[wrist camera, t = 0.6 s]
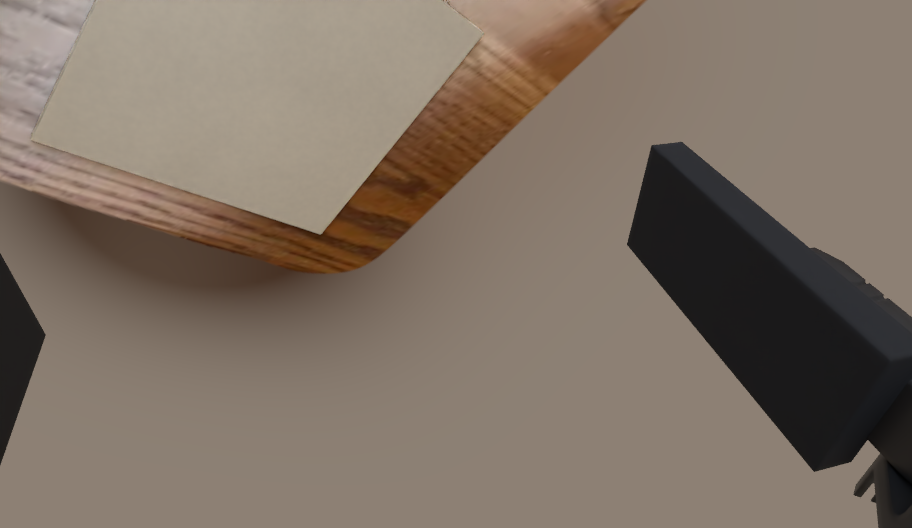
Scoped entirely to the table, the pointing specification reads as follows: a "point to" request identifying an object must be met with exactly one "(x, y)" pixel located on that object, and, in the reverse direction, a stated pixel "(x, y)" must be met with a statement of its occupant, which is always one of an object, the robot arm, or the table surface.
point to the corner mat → (253, 94)
